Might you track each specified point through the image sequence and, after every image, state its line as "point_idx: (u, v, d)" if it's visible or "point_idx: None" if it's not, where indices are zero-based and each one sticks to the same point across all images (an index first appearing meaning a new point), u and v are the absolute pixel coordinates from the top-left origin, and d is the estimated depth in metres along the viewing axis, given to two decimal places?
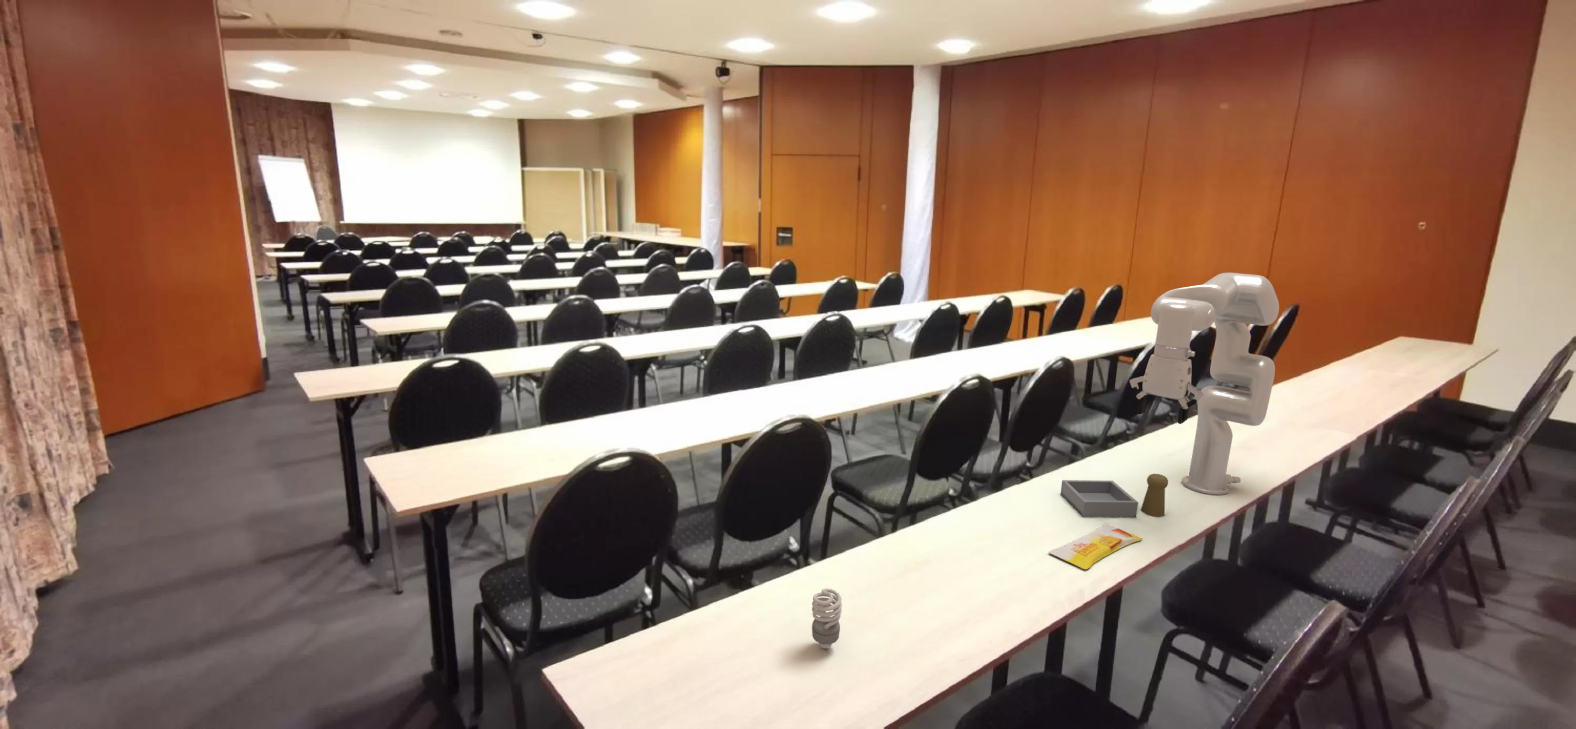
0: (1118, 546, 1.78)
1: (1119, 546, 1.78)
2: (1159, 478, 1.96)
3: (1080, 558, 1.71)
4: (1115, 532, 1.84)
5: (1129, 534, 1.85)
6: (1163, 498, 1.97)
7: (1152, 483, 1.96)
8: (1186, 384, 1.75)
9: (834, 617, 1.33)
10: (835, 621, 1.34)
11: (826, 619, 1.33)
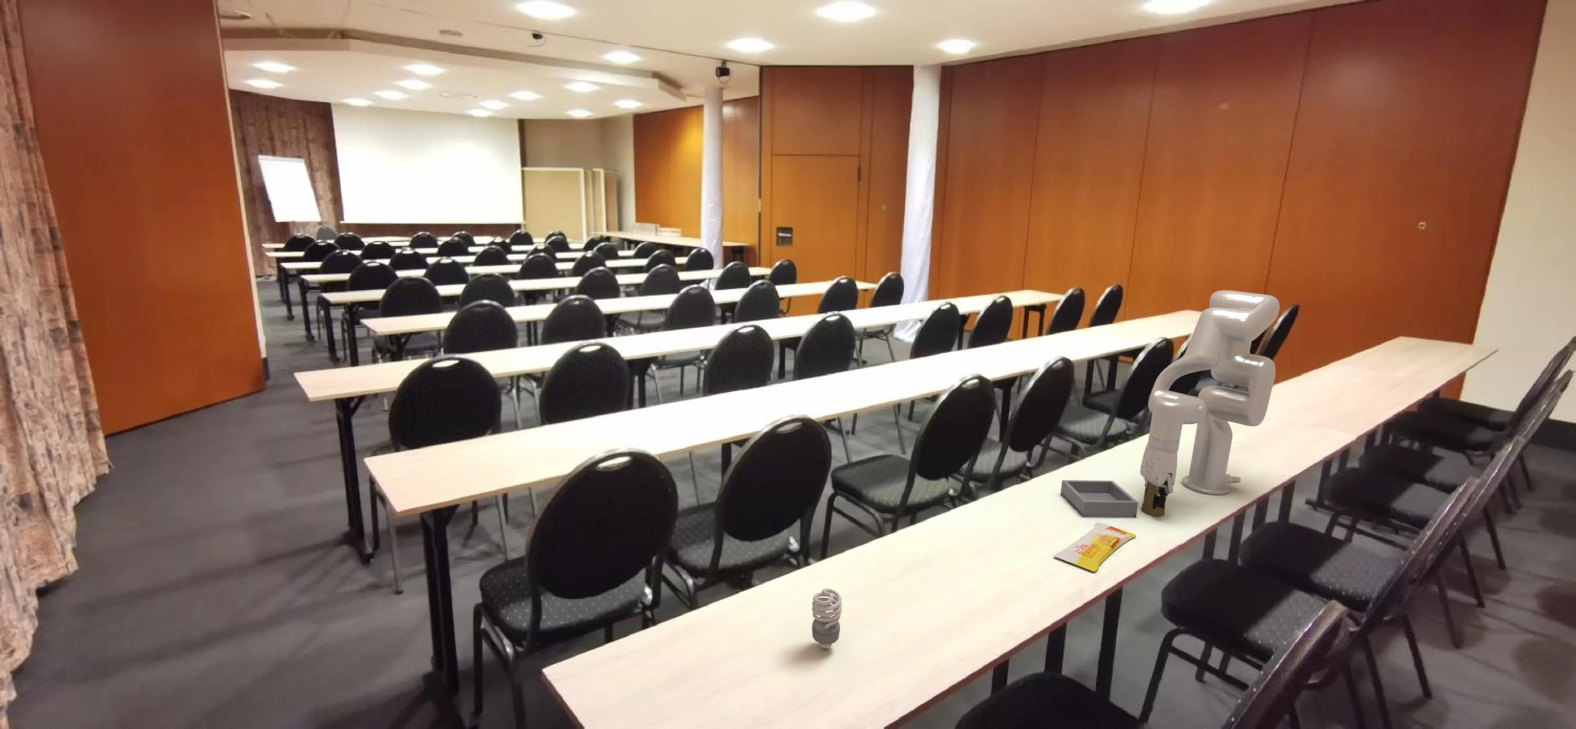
0: (1117, 545, 1.79)
1: (1118, 545, 1.79)
2: None
3: (1087, 560, 1.71)
4: (1110, 530, 1.85)
5: (1123, 531, 1.86)
6: None
7: None
8: None
9: (834, 617, 1.33)
10: (835, 621, 1.34)
11: (826, 619, 1.33)
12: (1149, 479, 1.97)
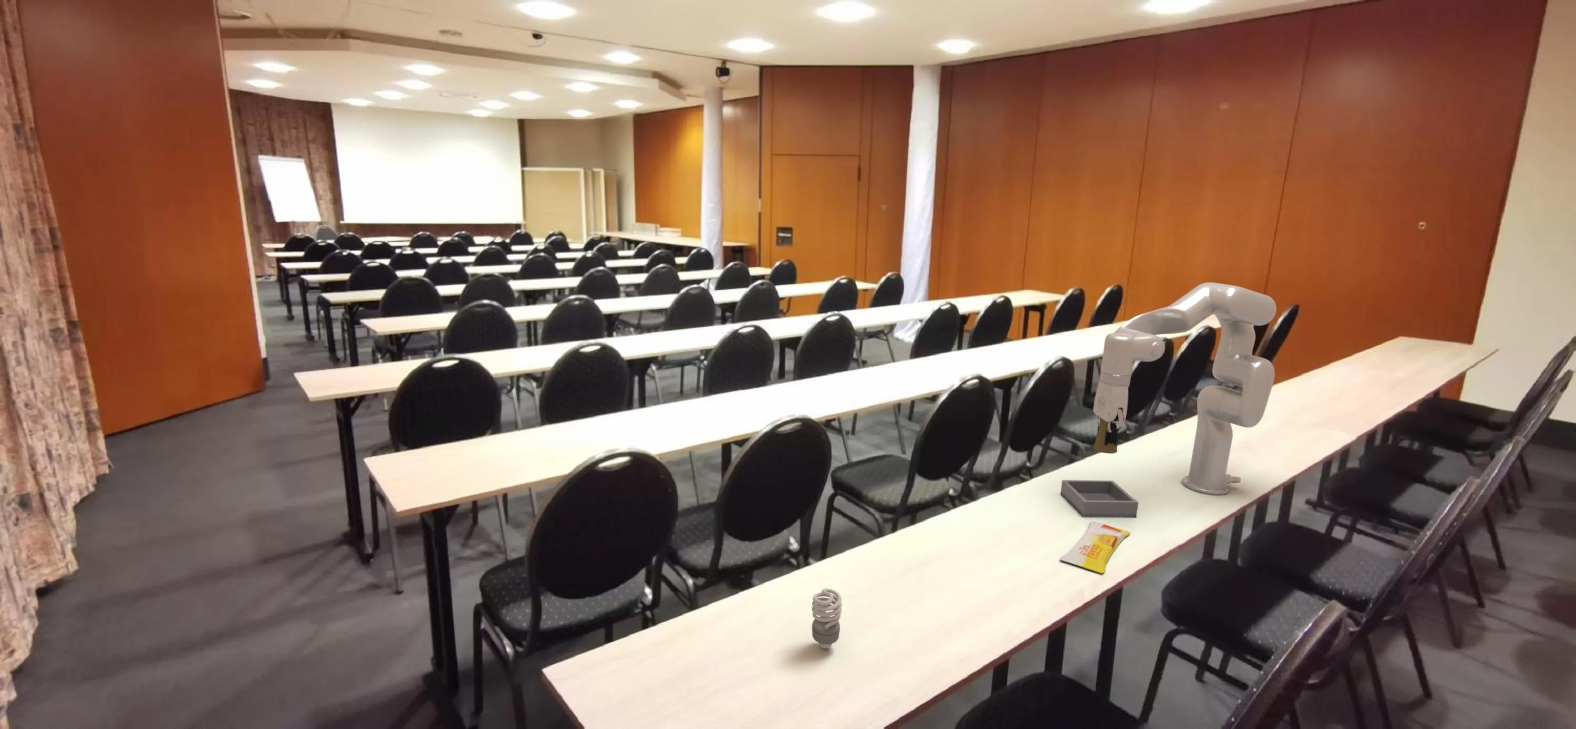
0: (1116, 543, 1.79)
1: (1117, 543, 1.80)
2: None
3: (1092, 561, 1.70)
4: (1105, 529, 1.86)
5: (1117, 529, 1.88)
6: None
7: None
8: None
9: (834, 617, 1.33)
10: (835, 621, 1.34)
11: (826, 619, 1.33)
12: (1101, 415, 1.96)
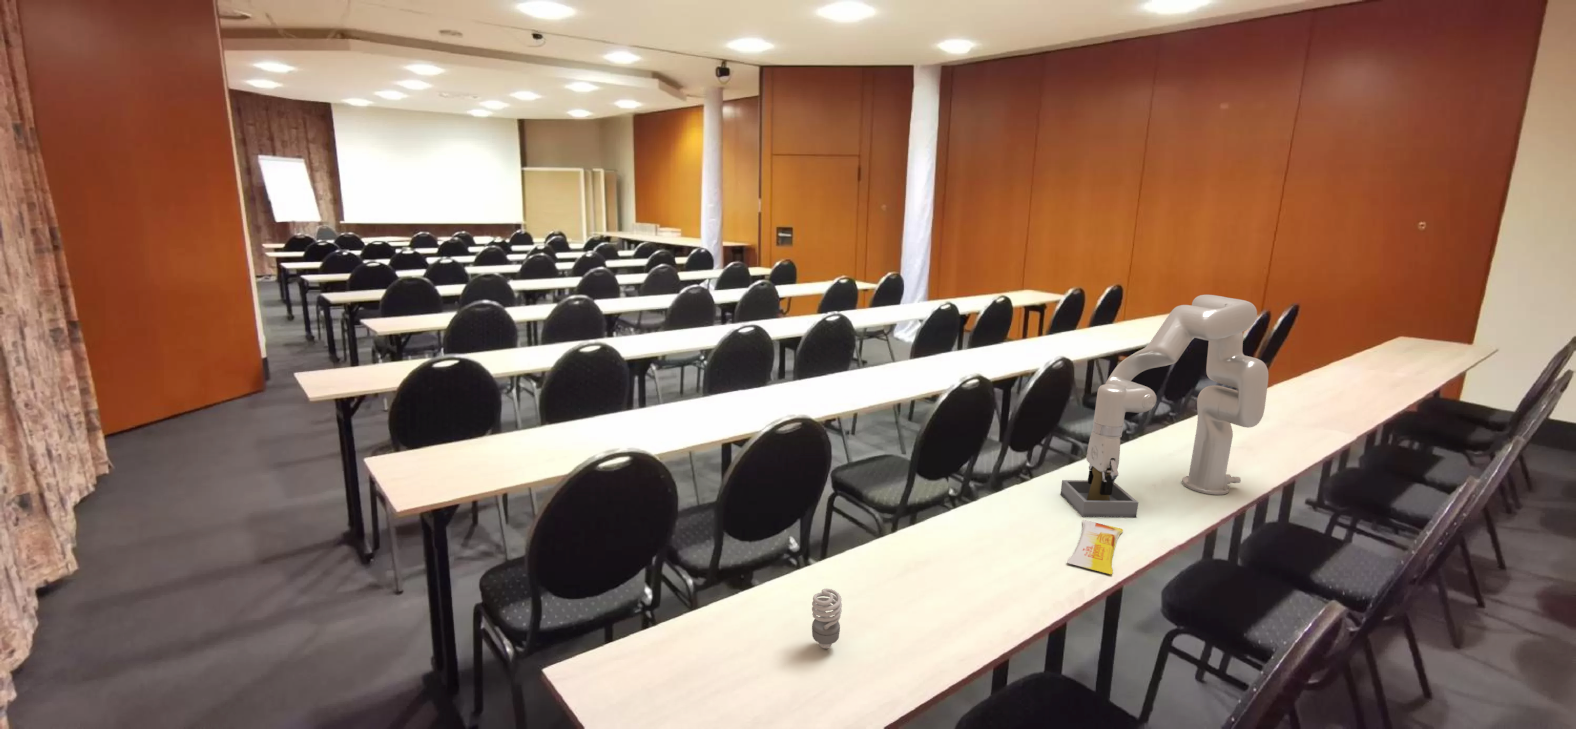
0: (1114, 542, 1.80)
1: (1115, 542, 1.80)
2: None
3: (1099, 562, 1.69)
4: (1100, 528, 1.87)
5: (1110, 527, 1.89)
6: None
7: (1097, 473, 1.99)
8: None
9: (834, 617, 1.33)
10: (835, 621, 1.34)
11: (826, 619, 1.33)
12: (1094, 465, 1.99)
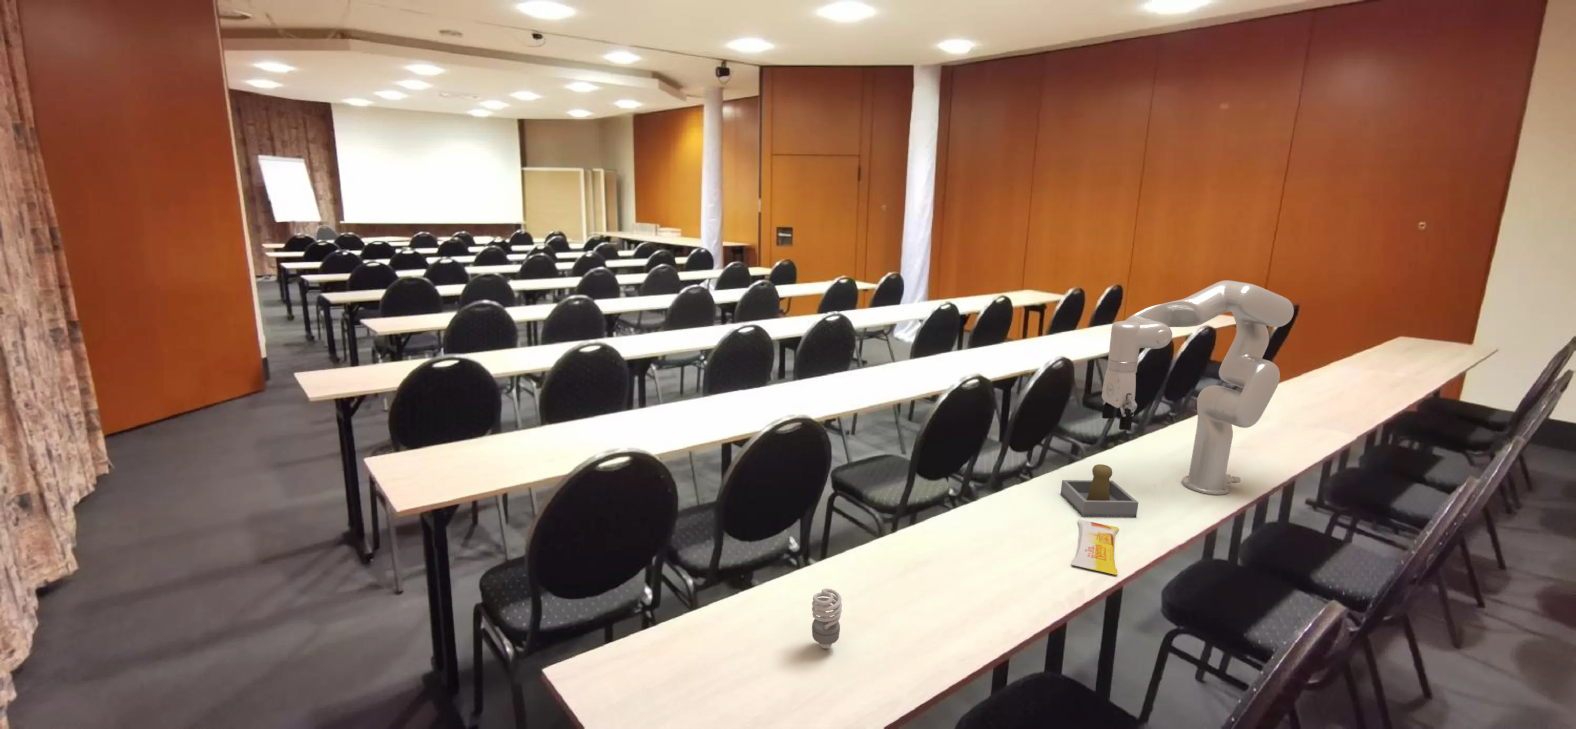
0: (1113, 541, 1.80)
1: (1113, 541, 1.81)
2: (1103, 468, 1.99)
3: (1103, 563, 1.69)
4: (1097, 527, 1.87)
5: (1106, 526, 1.89)
6: (1108, 488, 2.00)
7: (1097, 473, 1.99)
8: None
9: (834, 617, 1.33)
10: (835, 621, 1.34)
11: (826, 619, 1.33)
12: (1110, 402, 2.02)
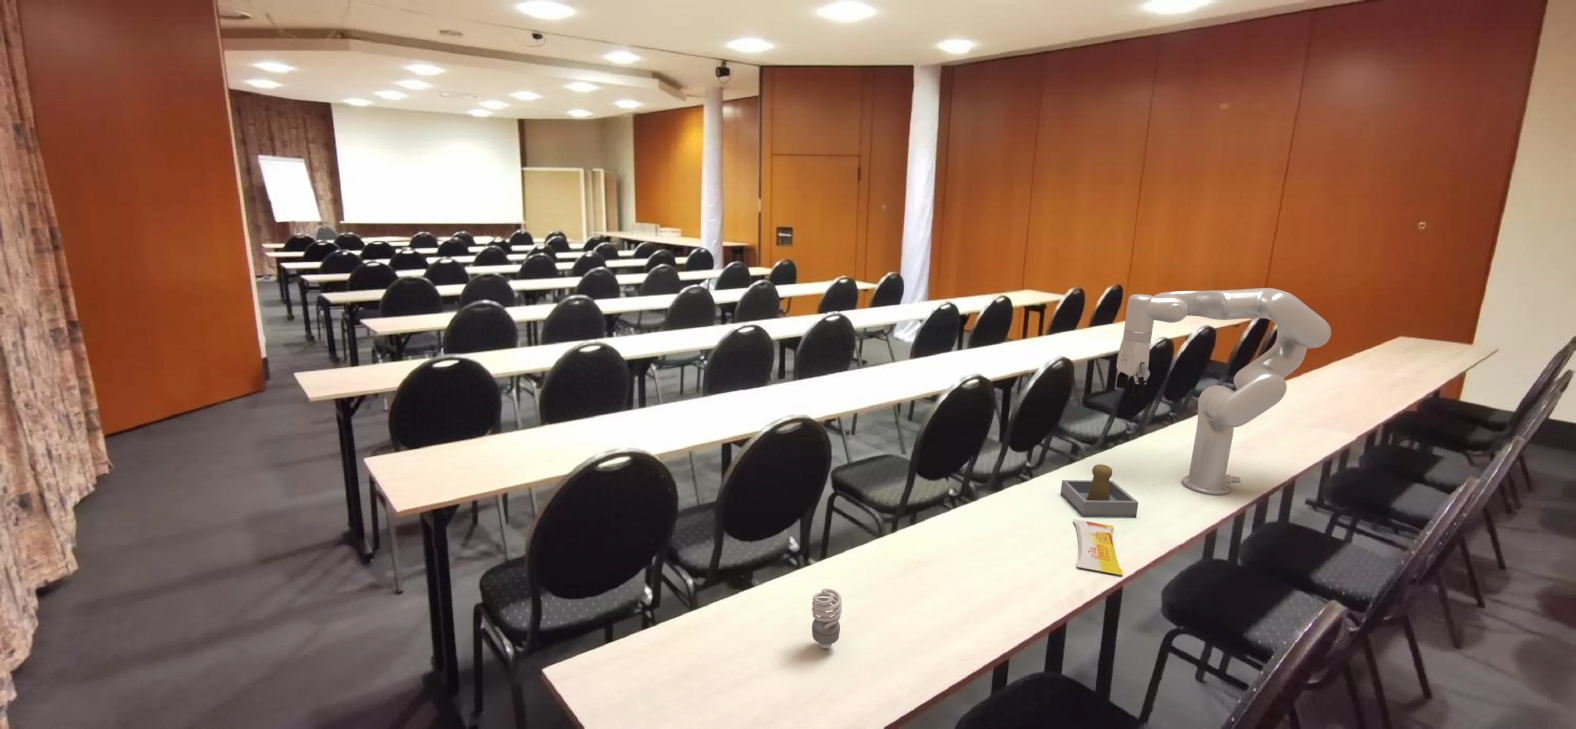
0: (1112, 540, 1.81)
1: (1112, 540, 1.81)
2: (1103, 468, 1.99)
3: (1107, 564, 1.69)
4: (1094, 526, 1.87)
5: (1101, 525, 1.90)
6: (1108, 488, 2.00)
7: (1097, 473, 1.99)
8: None
9: (834, 617, 1.33)
10: (835, 621, 1.34)
11: (826, 619, 1.33)
12: (1124, 370, 2.13)
